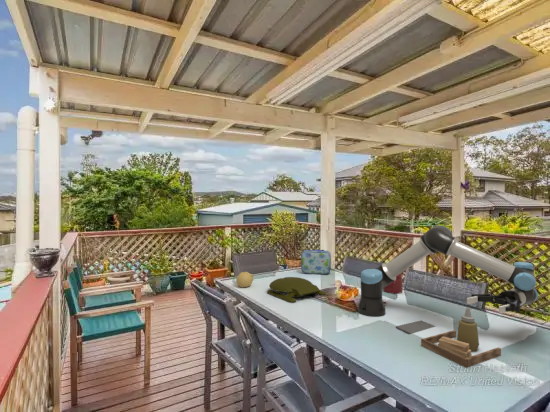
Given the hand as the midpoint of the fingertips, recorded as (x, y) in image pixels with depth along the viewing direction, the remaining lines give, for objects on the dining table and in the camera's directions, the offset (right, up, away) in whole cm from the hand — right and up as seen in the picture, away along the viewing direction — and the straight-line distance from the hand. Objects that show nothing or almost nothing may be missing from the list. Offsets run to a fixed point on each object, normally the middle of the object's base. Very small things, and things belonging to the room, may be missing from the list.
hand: (483, 305), depth 138 cm
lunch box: (-54, -16, +140) cm, 151 cm away
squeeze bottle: (-9, -18, -4) cm, 20 cm away
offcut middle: (-17, -17, -7) cm, 25 cm away
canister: (-8, -17, +84) cm, 86 cm away
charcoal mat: (-18, -18, +16) cm, 30 cm away
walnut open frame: (-13, -18, -6) cm, 23 cm away
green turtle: (-78, -18, +82) cm, 114 cm away
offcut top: (-17, -15, -7) cm, 23 cm away
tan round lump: (-113, -17, +99) cm, 151 cm away
